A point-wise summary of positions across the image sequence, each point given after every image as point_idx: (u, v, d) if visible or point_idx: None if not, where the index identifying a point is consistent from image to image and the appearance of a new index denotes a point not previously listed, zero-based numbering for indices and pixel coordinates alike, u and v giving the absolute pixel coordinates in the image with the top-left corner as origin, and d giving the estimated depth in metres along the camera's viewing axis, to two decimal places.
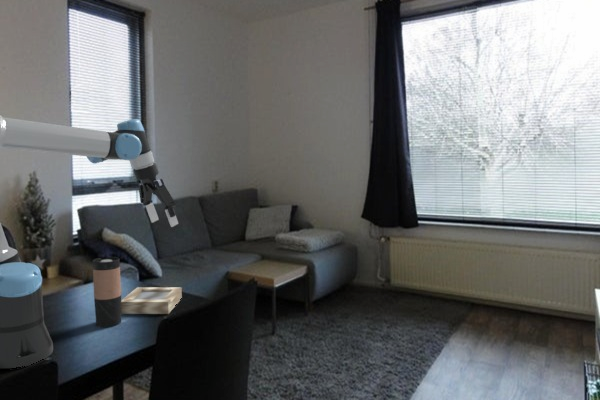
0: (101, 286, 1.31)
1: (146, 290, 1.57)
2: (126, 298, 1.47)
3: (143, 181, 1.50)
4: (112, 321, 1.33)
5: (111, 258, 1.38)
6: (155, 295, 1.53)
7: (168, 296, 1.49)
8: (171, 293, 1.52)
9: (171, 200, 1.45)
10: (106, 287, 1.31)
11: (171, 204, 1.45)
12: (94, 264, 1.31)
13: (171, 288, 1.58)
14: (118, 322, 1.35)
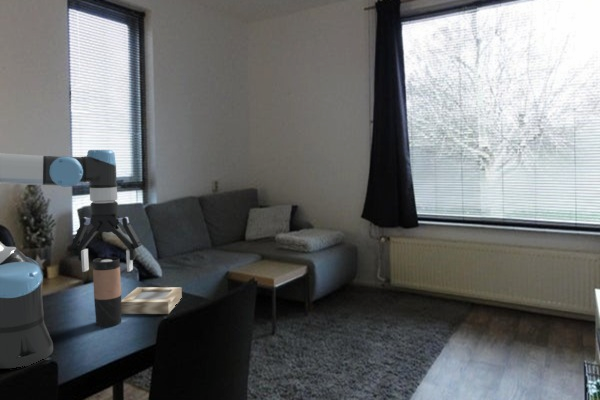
0: (101, 286, 1.31)
1: (146, 290, 1.57)
2: (126, 298, 1.47)
3: (96, 219, 1.32)
4: (112, 321, 1.33)
5: (111, 258, 1.38)
6: (155, 295, 1.53)
7: (168, 296, 1.49)
8: (171, 293, 1.52)
9: (138, 240, 1.34)
10: (106, 287, 1.31)
11: (139, 244, 1.34)
12: (94, 264, 1.31)
13: (171, 288, 1.58)
14: (118, 322, 1.35)
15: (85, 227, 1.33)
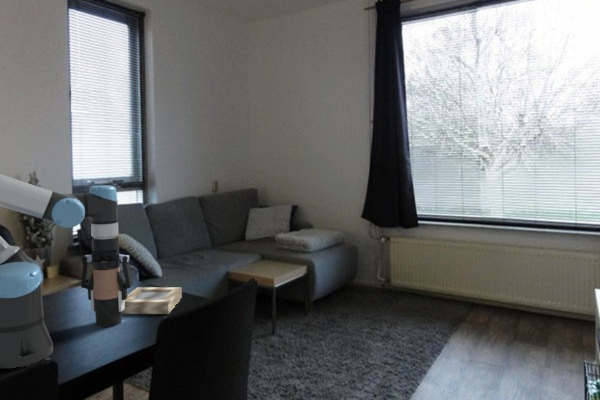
0: (101, 286, 1.31)
1: (146, 290, 1.57)
2: None
3: (96, 253, 1.33)
4: (112, 321, 1.33)
5: None
6: (155, 295, 1.53)
7: (168, 296, 1.49)
8: (171, 293, 1.52)
9: (131, 280, 1.35)
10: (106, 287, 1.31)
11: (131, 285, 1.35)
12: (94, 264, 1.31)
13: (171, 288, 1.58)
14: (118, 322, 1.35)
15: (89, 264, 1.34)
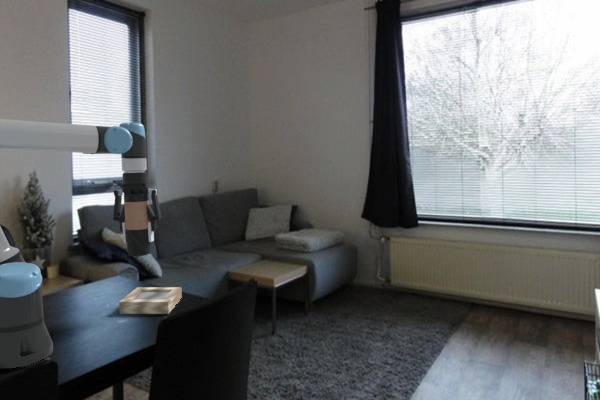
0: (132, 216, 1.40)
1: (146, 290, 1.57)
2: (126, 298, 1.47)
3: (127, 187, 1.42)
4: (143, 250, 1.42)
5: None
6: (155, 295, 1.53)
7: (168, 296, 1.49)
8: (171, 293, 1.52)
9: (160, 213, 1.44)
10: (137, 218, 1.40)
11: (159, 217, 1.44)
12: (125, 196, 1.40)
13: (171, 288, 1.58)
14: (148, 252, 1.44)
15: (120, 198, 1.43)
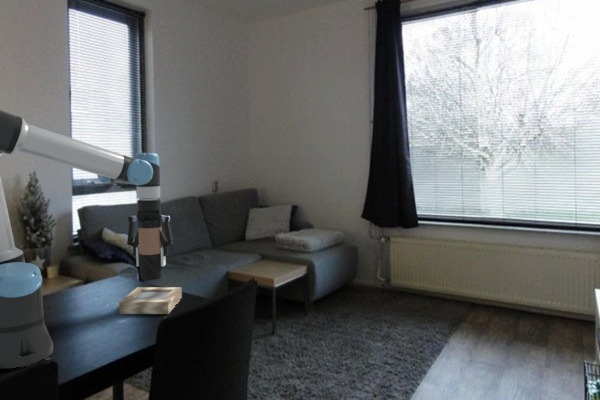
0: (146, 242, 1.46)
1: (146, 290, 1.57)
2: (126, 298, 1.47)
3: (141, 214, 1.48)
4: (155, 274, 1.48)
5: None
6: (155, 295, 1.53)
7: (168, 296, 1.49)
8: (171, 293, 1.52)
9: (172, 238, 1.50)
10: (150, 244, 1.46)
11: (172, 242, 1.50)
12: (139, 223, 1.46)
13: (171, 288, 1.58)
14: (160, 276, 1.50)
15: (134, 224, 1.49)
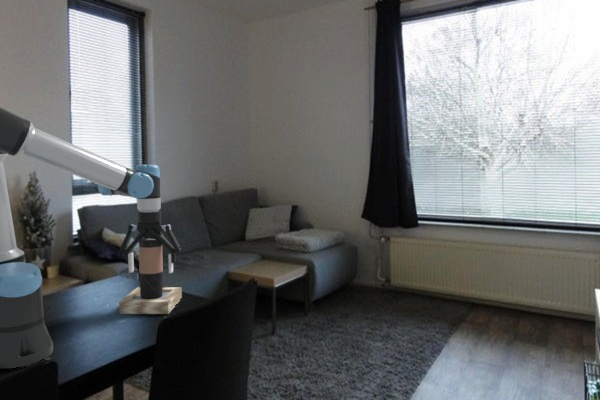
0: (147, 261, 1.47)
1: None
2: (126, 298, 1.47)
3: (142, 226, 1.48)
4: (155, 294, 1.49)
5: (154, 238, 1.54)
6: None
7: (168, 296, 1.49)
8: (171, 293, 1.52)
9: (178, 245, 1.50)
10: (151, 263, 1.47)
11: (179, 249, 1.50)
12: (140, 242, 1.47)
13: (171, 288, 1.58)
14: (160, 295, 1.51)
15: (132, 233, 1.50)
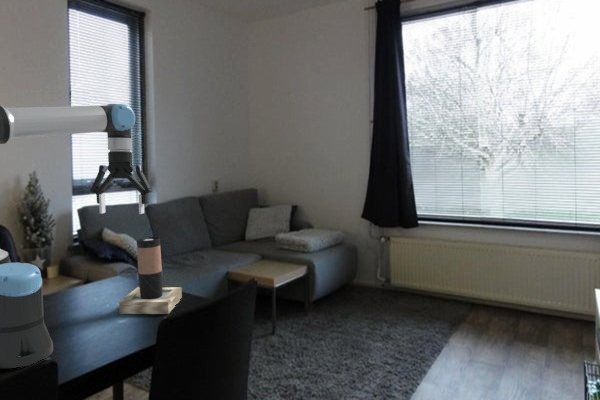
0: (145, 262, 1.47)
1: None
2: (126, 298, 1.47)
3: (112, 166, 1.49)
4: (155, 294, 1.49)
5: (152, 238, 1.53)
6: None
7: (168, 296, 1.49)
8: (171, 293, 1.52)
9: (149, 186, 1.50)
10: (150, 263, 1.47)
11: (150, 190, 1.50)
12: (138, 242, 1.47)
13: (171, 288, 1.58)
14: (160, 295, 1.51)
15: (103, 174, 1.50)
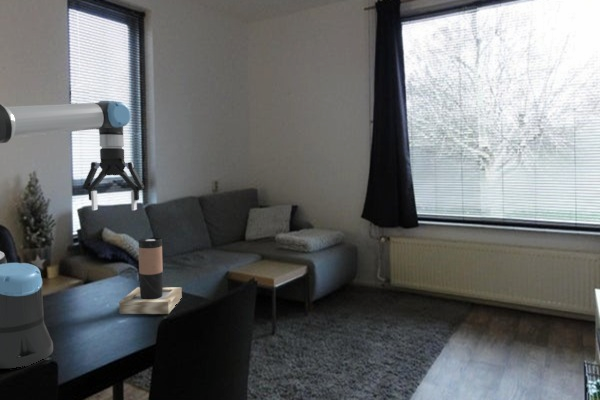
0: (146, 262, 1.47)
1: None
2: (126, 298, 1.47)
3: (104, 163, 1.49)
4: (155, 294, 1.49)
5: (154, 238, 1.53)
6: None
7: (168, 296, 1.49)
8: (171, 293, 1.52)
9: (141, 183, 1.51)
10: (151, 263, 1.47)
11: (142, 186, 1.51)
12: (140, 243, 1.47)
13: (171, 288, 1.58)
14: (160, 295, 1.51)
15: (95, 171, 1.51)
